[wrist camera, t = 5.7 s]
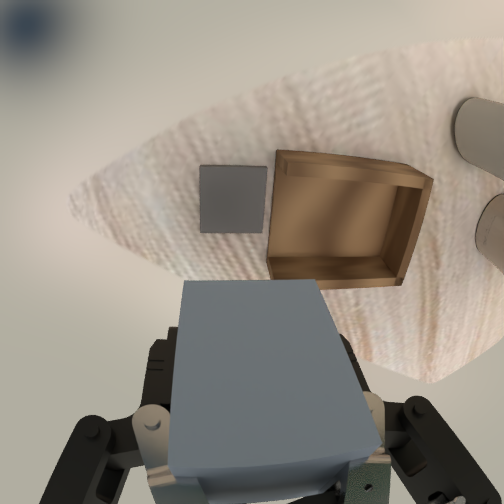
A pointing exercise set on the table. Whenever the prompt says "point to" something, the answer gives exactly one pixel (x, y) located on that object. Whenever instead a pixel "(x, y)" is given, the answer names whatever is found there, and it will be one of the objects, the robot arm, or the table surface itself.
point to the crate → (344, 219)
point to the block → (263, 392)
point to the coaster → (232, 198)
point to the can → (481, 134)
